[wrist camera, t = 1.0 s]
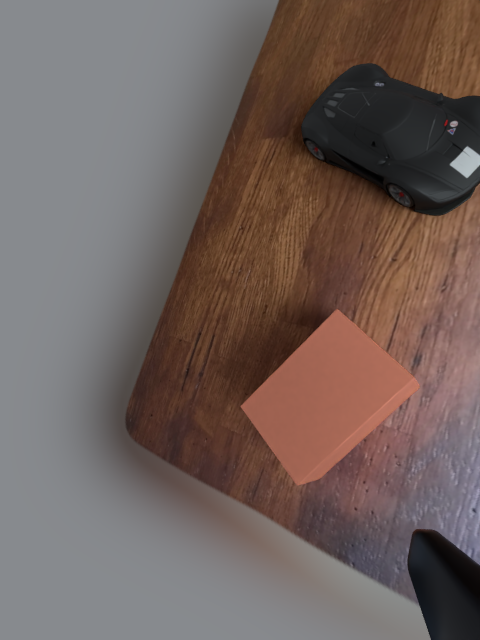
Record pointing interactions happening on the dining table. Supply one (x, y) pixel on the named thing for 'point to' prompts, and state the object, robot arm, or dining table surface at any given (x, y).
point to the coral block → (327, 398)
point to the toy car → (398, 138)
